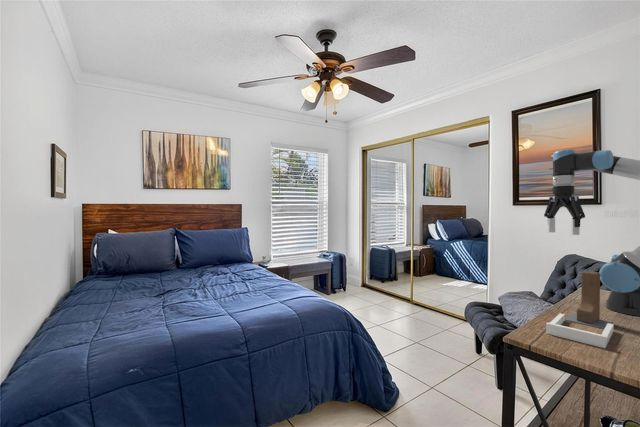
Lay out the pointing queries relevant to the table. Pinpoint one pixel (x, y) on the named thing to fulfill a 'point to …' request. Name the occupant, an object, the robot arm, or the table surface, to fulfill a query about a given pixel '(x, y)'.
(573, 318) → the pad
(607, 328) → the white u-shaped bracket
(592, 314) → the wooden block
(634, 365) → the table surface
